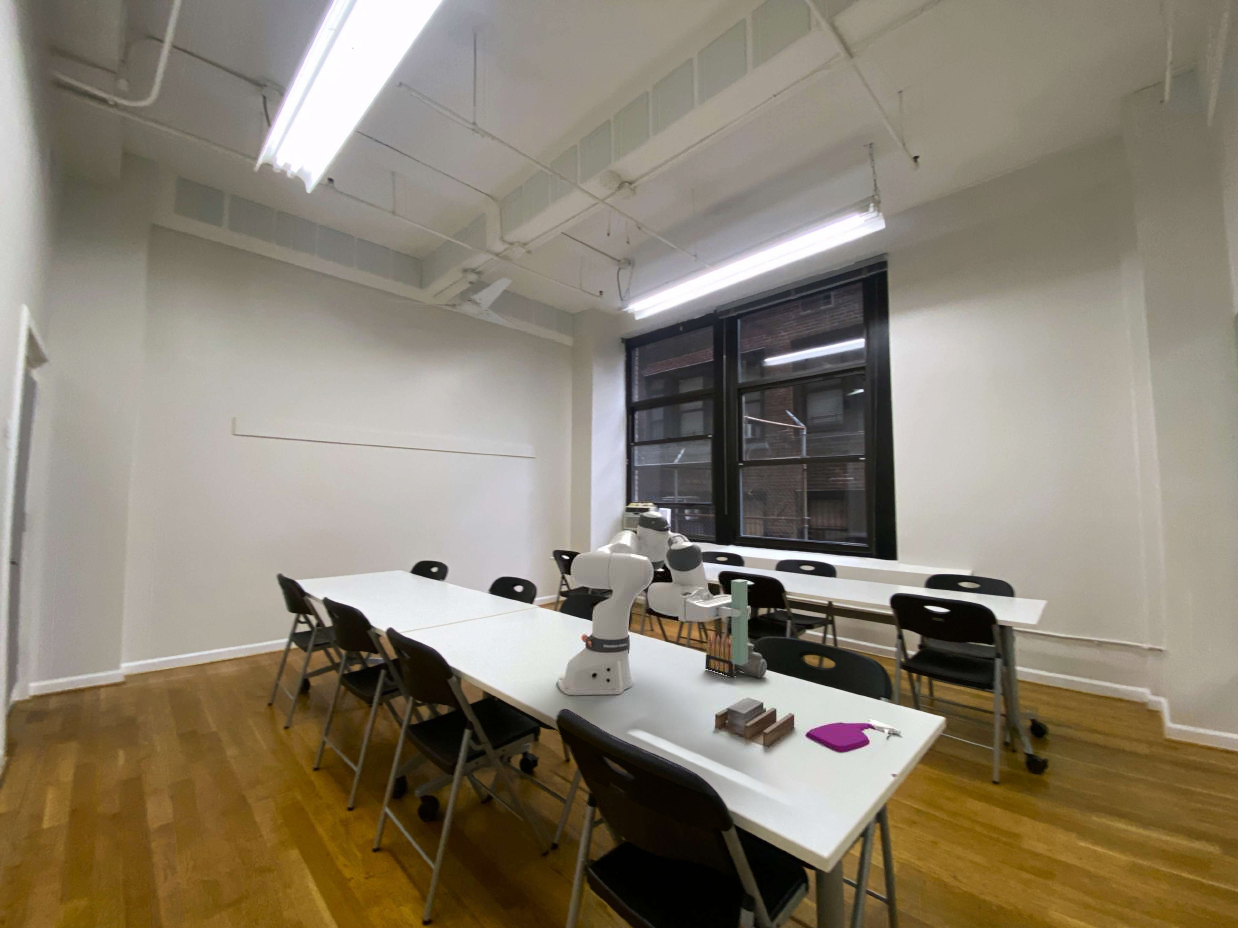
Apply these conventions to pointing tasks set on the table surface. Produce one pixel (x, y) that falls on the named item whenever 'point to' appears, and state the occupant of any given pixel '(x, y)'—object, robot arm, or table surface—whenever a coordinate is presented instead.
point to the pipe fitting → (753, 664)
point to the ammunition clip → (720, 656)
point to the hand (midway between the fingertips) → (744, 611)
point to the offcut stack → (743, 714)
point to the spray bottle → (847, 734)
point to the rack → (760, 727)
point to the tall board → (739, 622)
